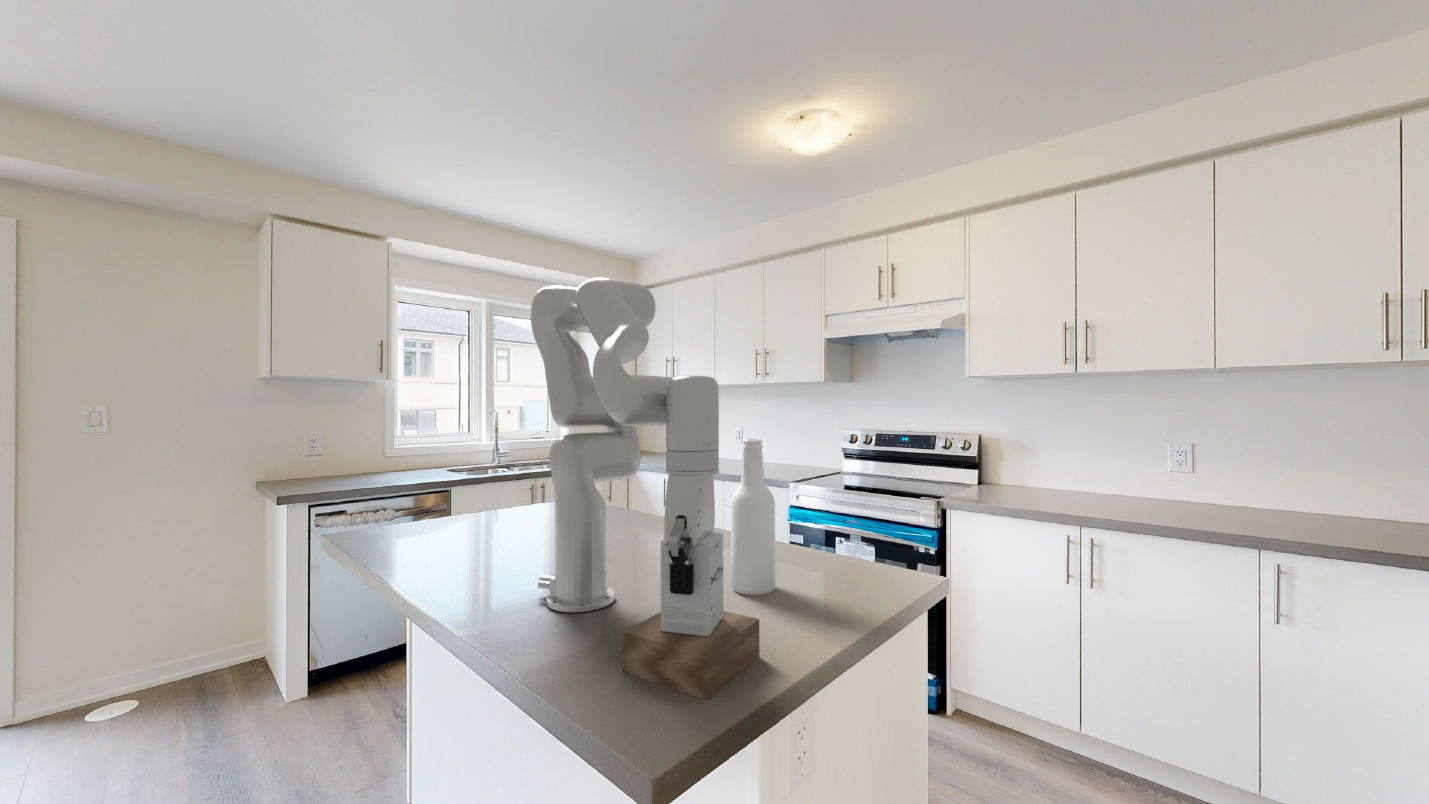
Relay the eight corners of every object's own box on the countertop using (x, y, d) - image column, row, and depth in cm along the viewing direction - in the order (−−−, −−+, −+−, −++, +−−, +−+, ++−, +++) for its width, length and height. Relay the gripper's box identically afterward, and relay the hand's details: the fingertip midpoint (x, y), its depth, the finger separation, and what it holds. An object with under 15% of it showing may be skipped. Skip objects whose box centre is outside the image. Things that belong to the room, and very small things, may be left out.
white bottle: (746, 579, 118) (745, 437, 118) (783, 587, 113) (782, 439, 113) (722, 591, 111) (722, 439, 111) (761, 599, 106) (760, 441, 106)
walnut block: (622, 675, 77) (622, 631, 77) (681, 639, 89) (681, 601, 89) (707, 703, 70) (707, 655, 70) (759, 660, 82) (759, 619, 82)
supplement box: (710, 638, 75) (709, 543, 75) (659, 632, 77) (658, 540, 77) (725, 618, 82) (724, 532, 82) (677, 613, 84) (677, 529, 84)
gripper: (686, 456, 89) (686, 563, 89) (644, 468, 72) (644, 600, 72) (732, 457, 87) (732, 567, 87) (700, 470, 70) (700, 606, 70)
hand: (692, 582), depth 80 cm, fingers open, 9 cm apart
